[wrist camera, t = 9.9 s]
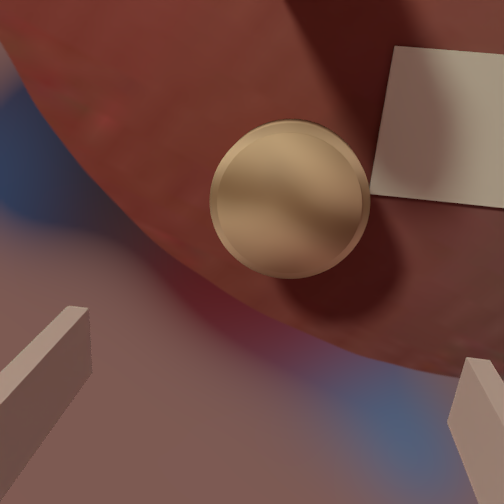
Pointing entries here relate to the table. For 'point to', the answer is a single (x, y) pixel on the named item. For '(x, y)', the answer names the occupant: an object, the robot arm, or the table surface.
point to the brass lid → (290, 199)
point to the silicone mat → (442, 128)
